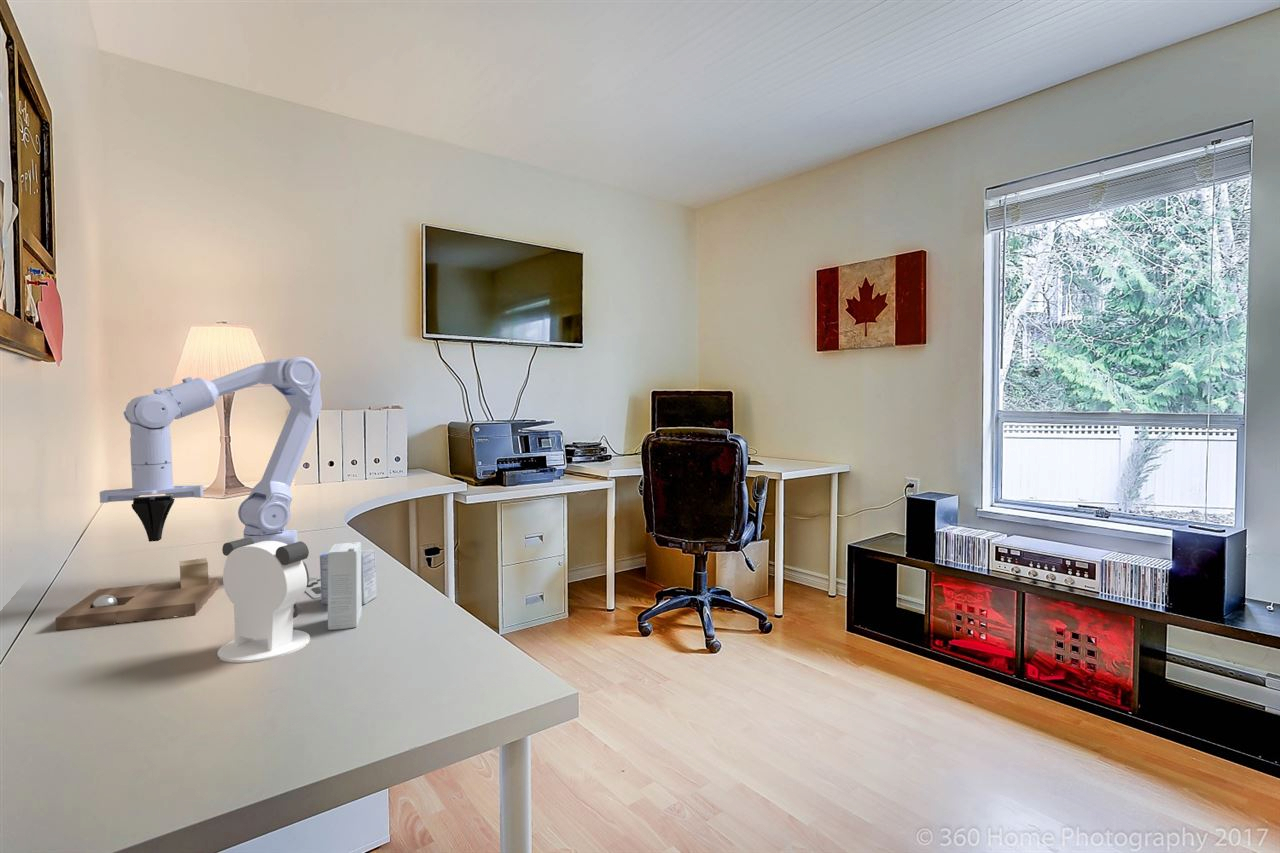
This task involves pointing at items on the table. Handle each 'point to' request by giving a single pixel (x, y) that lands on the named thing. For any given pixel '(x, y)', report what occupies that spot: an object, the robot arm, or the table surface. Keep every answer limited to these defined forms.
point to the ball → (105, 601)
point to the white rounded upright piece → (264, 598)
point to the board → (138, 604)
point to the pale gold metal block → (193, 573)
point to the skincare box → (344, 586)
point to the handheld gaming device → (314, 587)
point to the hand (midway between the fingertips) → (155, 540)
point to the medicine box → (366, 576)
